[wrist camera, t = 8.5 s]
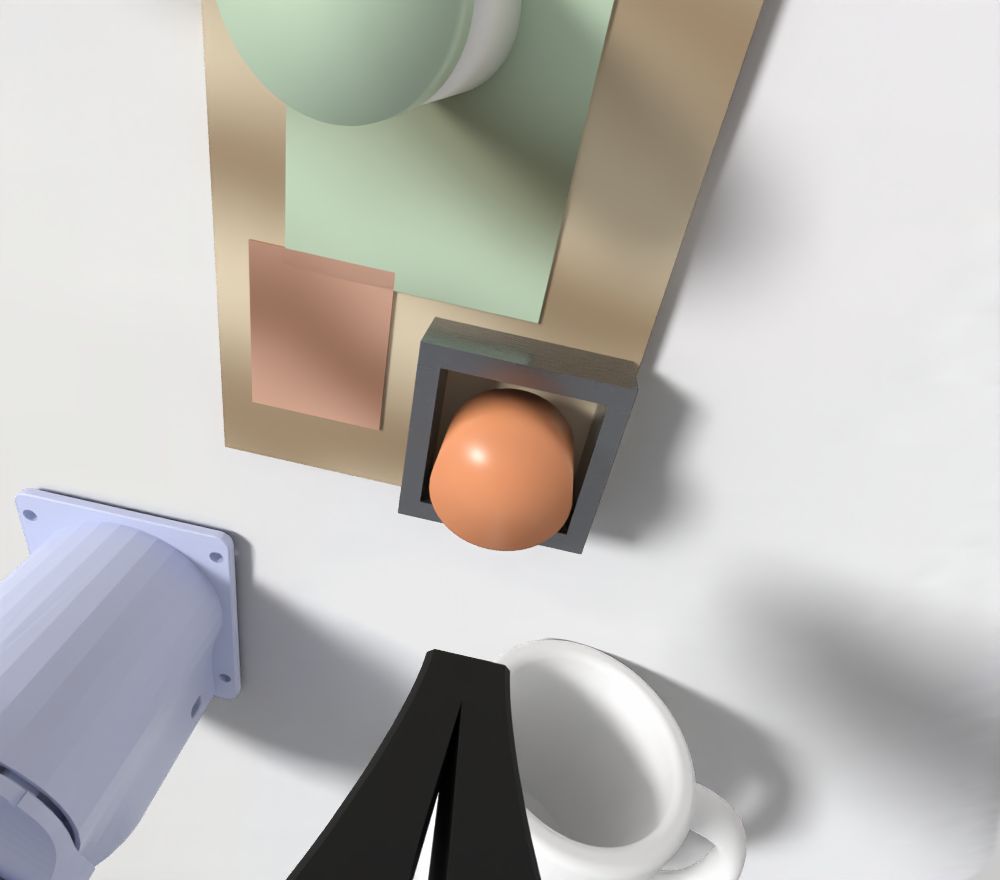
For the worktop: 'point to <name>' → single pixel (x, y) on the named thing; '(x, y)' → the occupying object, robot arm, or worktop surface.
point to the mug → (606, 773)
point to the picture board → (457, 221)
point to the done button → (505, 471)
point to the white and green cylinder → (370, 51)
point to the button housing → (527, 368)
